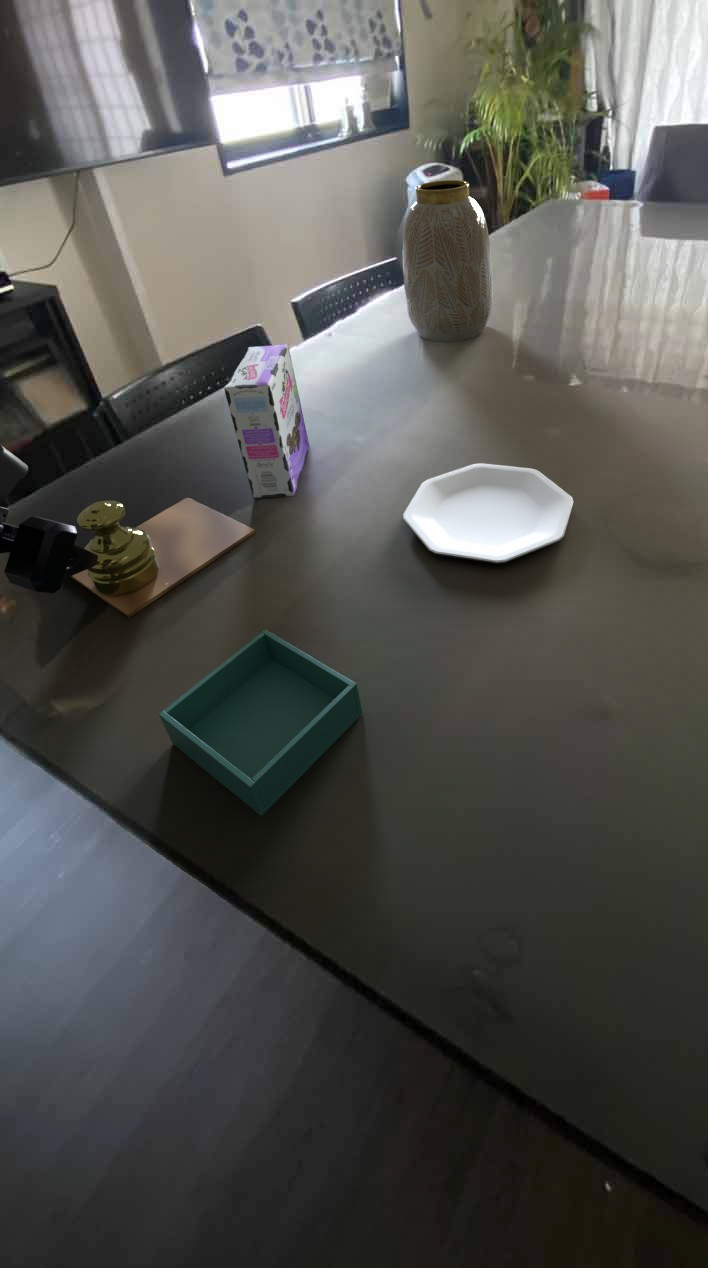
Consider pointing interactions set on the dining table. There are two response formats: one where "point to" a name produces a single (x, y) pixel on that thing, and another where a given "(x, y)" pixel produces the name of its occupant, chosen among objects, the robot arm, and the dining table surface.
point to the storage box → (262, 718)
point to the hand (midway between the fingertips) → (64, 551)
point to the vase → (447, 263)
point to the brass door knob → (117, 550)
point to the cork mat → (177, 550)
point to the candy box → (268, 420)
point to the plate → (489, 513)
